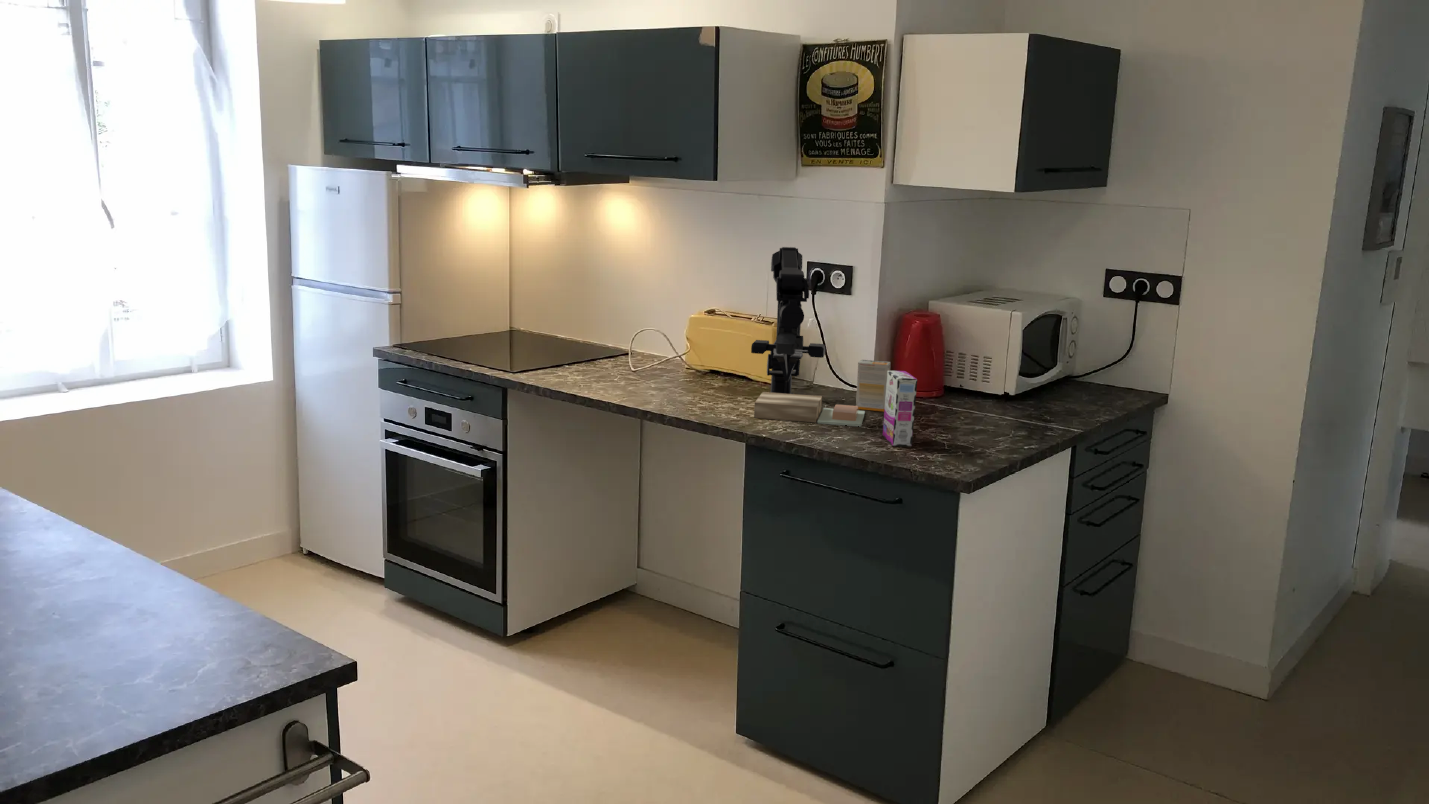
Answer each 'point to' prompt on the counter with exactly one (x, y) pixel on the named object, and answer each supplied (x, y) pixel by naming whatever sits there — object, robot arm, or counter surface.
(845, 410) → the tile
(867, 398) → the supplement box
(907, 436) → the candy bar box
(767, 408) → the board
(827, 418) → the mat
